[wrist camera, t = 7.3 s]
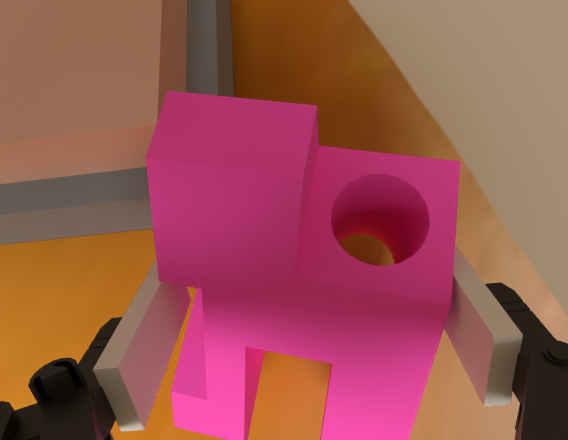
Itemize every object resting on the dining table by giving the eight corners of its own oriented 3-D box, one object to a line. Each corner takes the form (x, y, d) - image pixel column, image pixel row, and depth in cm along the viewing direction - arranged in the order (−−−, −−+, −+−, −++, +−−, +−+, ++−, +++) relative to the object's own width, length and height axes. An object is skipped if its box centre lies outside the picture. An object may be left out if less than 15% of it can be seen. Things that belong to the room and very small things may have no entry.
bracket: (234, 200, 23) (167, 90, 13) (415, 226, 21) (487, 122, 12) (181, 423, 20) (36, 492, 10) (392, 474, 18) (468, 617, 8)
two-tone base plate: (-10, 245, 28) (-157, 198, 20) (29, 27, 35) (-67, -80, 26) (238, 219, 27) (197, 155, 18) (230, -4, 33) (197, -126, 25)
